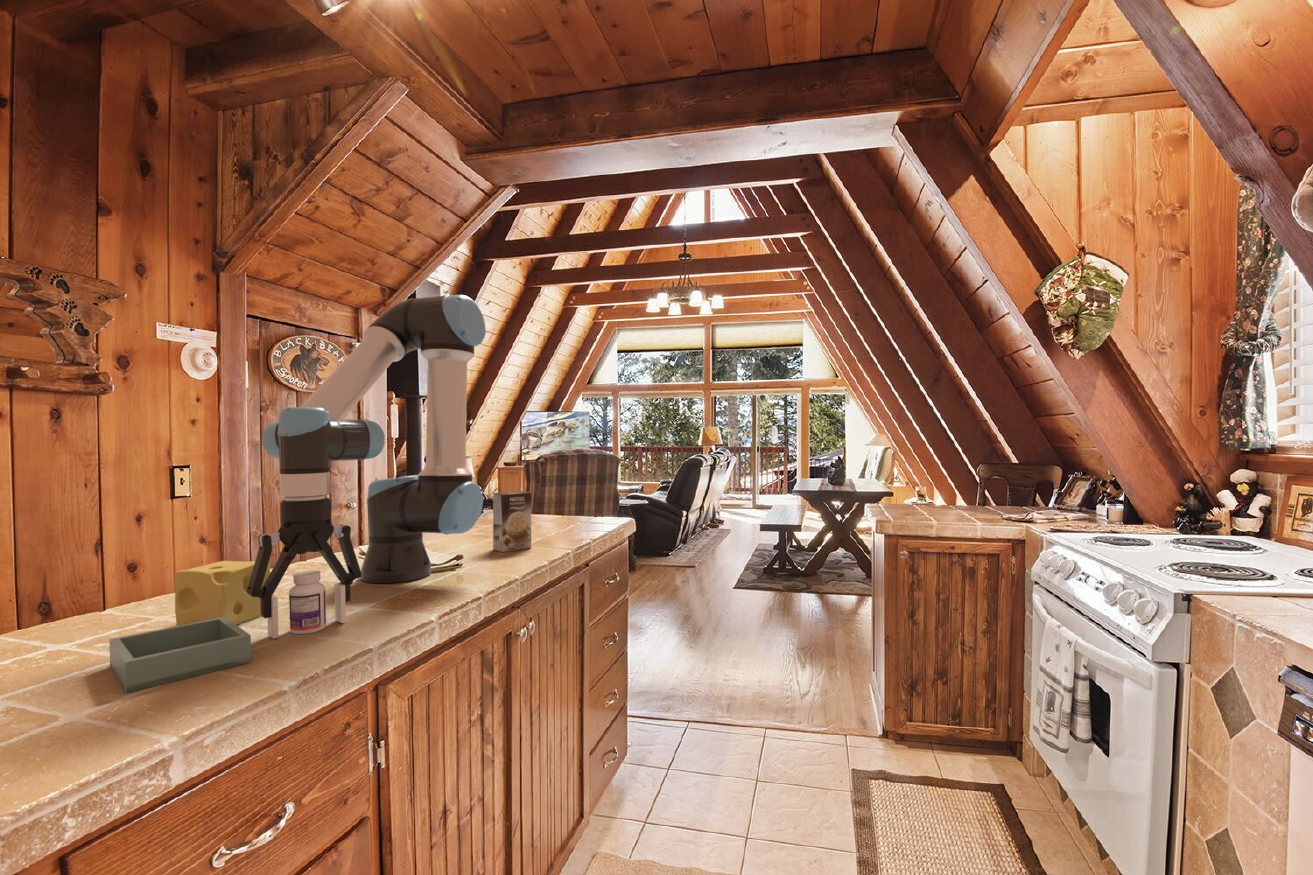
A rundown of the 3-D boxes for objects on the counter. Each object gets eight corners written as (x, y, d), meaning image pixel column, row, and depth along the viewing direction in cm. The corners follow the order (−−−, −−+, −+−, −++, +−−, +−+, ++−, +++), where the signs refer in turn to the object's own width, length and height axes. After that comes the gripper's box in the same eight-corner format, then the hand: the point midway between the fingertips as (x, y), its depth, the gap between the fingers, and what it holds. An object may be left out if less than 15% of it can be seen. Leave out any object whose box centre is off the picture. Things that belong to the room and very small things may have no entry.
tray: (225, 641, 100) (224, 616, 99) (251, 662, 90) (250, 634, 90) (109, 666, 89) (109, 638, 89) (125, 693, 80) (125, 662, 80)
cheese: (222, 631, 105) (221, 572, 105) (171, 628, 107) (169, 570, 107) (272, 613, 115) (271, 560, 115) (224, 610, 117) (223, 558, 117)
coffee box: (502, 552, 171) (501, 494, 170) (492, 549, 176) (491, 493, 175) (532, 548, 177) (531, 492, 176) (521, 545, 181) (521, 490, 181)
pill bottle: (302, 624, 108) (301, 569, 108) (332, 624, 108) (331, 569, 107) (282, 634, 102) (281, 576, 102) (313, 635, 102) (312, 576, 102)
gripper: (363, 491, 116) (365, 609, 116) (221, 502, 99) (223, 640, 99) (381, 493, 111) (383, 617, 111) (234, 505, 94) (237, 651, 94)
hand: (308, 628), depth 105 cm, fingers open, 10 cm apart
